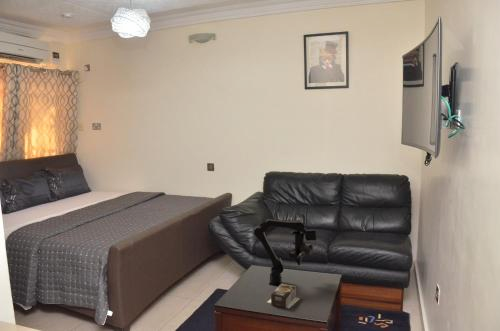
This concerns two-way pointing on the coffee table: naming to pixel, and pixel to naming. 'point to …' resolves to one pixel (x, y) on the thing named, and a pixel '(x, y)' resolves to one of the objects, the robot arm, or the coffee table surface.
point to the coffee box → (283, 295)
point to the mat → (289, 303)
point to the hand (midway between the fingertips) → (299, 265)
